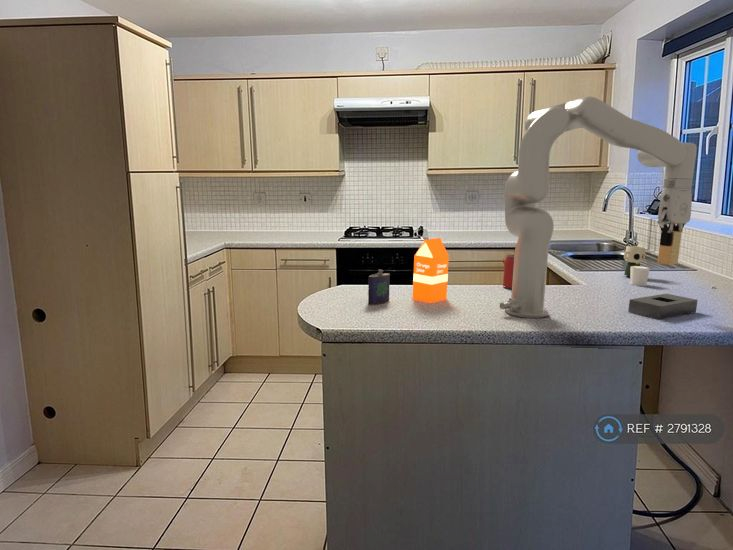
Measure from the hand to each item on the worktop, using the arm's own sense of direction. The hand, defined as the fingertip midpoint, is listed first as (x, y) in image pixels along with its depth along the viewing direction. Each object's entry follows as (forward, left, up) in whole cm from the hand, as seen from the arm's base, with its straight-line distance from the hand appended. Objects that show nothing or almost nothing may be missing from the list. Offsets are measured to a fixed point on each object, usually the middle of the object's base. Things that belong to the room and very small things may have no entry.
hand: (669, 244), depth 168 cm
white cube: (+36, +31, -21) cm, 52 cm away
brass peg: (0, 0, -6) cm, 6 cm away
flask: (-74, +49, -21) cm, 91 cm away
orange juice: (-56, +46, -21) cm, 75 cm away
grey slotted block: (0, 0, -21) cm, 21 cm away
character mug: (+49, +42, -21) cm, 68 cm away
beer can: (-16, +48, -21) cm, 55 cm away
